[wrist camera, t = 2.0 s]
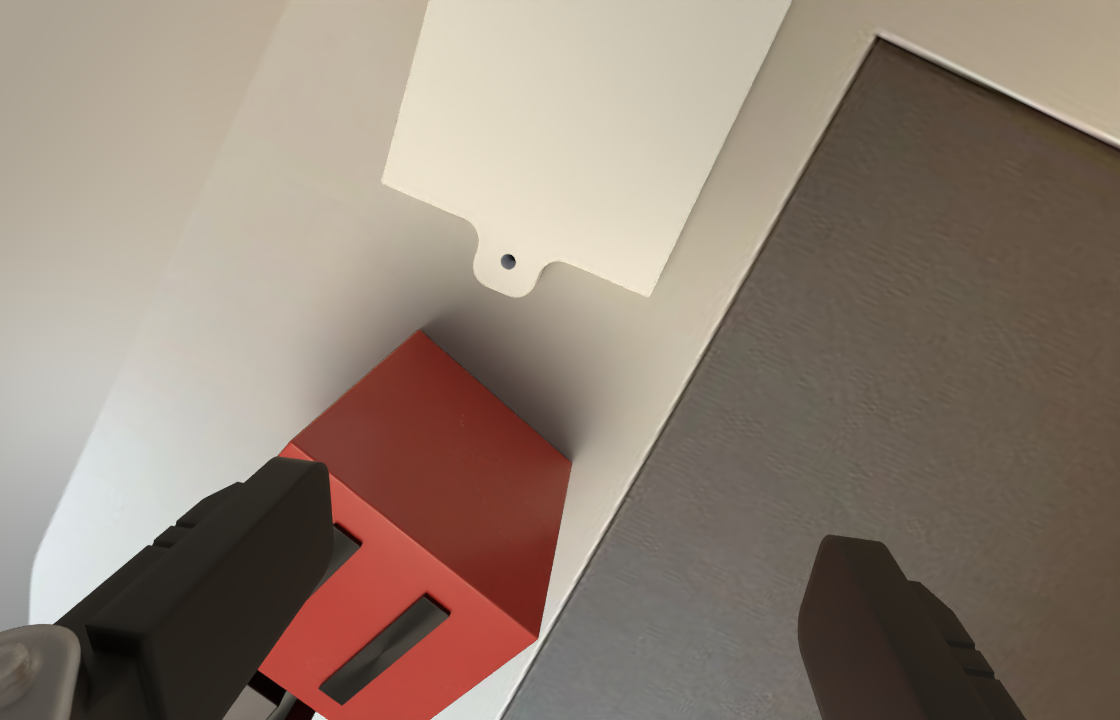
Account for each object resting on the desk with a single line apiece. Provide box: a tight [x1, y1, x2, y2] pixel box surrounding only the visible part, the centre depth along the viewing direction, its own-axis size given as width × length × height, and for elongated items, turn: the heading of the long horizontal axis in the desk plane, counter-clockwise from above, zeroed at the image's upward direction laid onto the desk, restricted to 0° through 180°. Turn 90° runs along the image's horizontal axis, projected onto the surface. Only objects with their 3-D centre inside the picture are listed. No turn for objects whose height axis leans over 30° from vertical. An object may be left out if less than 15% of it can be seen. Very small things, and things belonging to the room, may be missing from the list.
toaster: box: [258, 330, 572, 720], centre depth 27 cm, size 10×11×12 cm
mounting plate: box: [381, 0, 793, 298], centre depth 24 cm, size 18×13×2 cm
